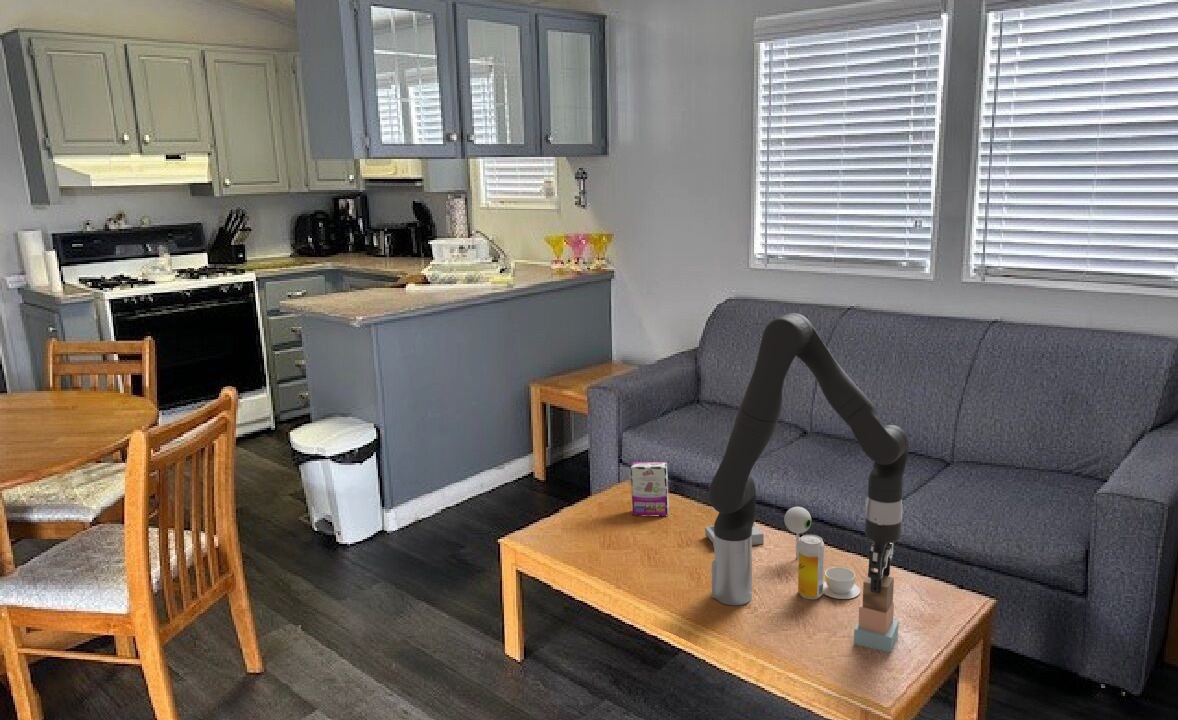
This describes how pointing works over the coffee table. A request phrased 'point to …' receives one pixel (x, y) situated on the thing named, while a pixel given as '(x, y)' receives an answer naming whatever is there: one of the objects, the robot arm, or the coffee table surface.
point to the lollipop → (797, 523)
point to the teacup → (840, 583)
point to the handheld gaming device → (756, 535)
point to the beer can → (811, 566)
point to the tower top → (875, 619)
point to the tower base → (877, 637)
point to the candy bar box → (649, 488)
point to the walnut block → (875, 599)
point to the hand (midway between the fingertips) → (880, 583)
